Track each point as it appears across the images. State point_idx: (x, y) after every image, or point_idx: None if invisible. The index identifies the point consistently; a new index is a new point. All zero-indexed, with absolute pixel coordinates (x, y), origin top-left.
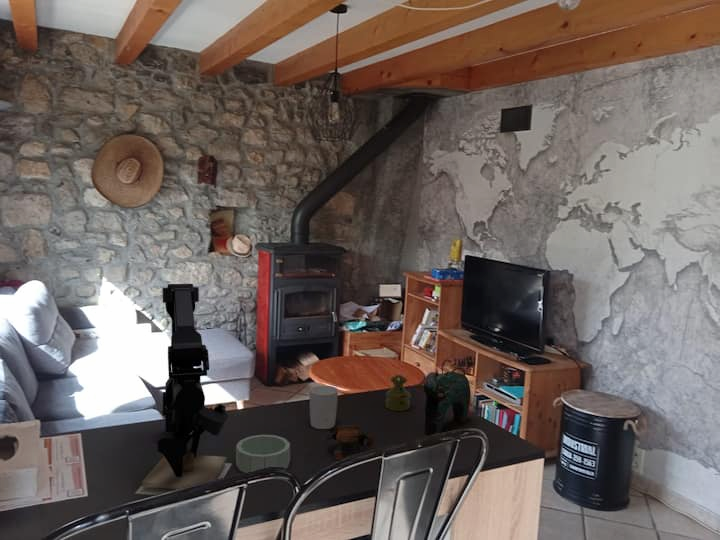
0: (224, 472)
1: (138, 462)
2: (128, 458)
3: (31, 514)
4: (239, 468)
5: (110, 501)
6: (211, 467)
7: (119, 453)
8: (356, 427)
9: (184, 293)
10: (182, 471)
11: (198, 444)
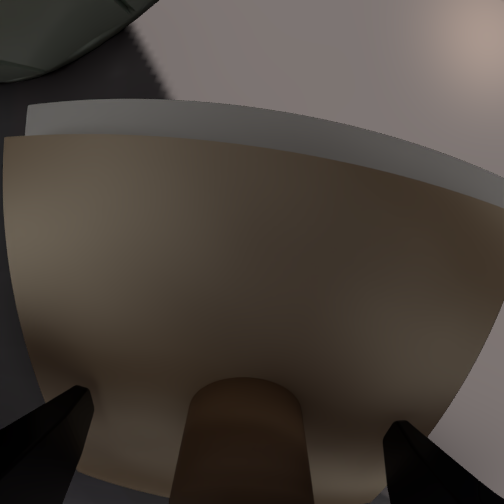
0: (157, 117)
1: (113, 486)
2: (100, 496)
3: None
4: (123, 12)
5: (379, 494)
6: (215, 235)
7: (84, 501)
8: None
9: None
10: (418, 441)
11: (20, 447)
